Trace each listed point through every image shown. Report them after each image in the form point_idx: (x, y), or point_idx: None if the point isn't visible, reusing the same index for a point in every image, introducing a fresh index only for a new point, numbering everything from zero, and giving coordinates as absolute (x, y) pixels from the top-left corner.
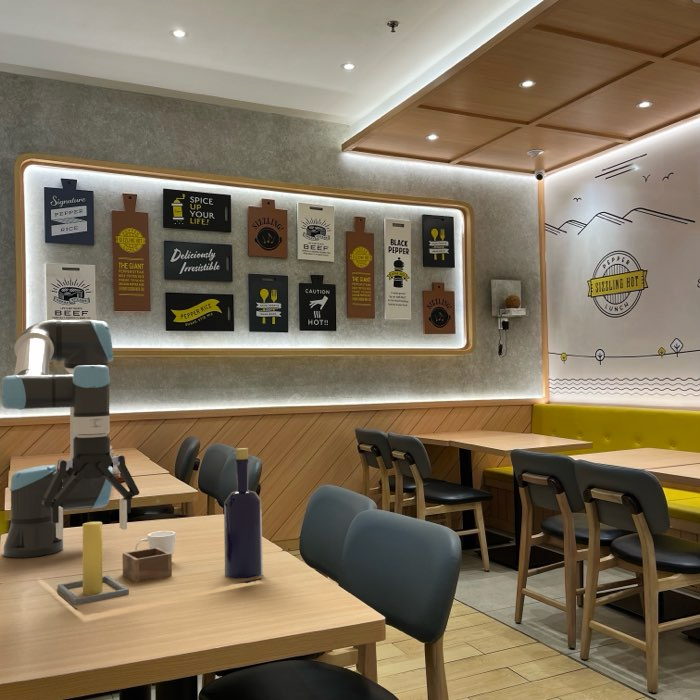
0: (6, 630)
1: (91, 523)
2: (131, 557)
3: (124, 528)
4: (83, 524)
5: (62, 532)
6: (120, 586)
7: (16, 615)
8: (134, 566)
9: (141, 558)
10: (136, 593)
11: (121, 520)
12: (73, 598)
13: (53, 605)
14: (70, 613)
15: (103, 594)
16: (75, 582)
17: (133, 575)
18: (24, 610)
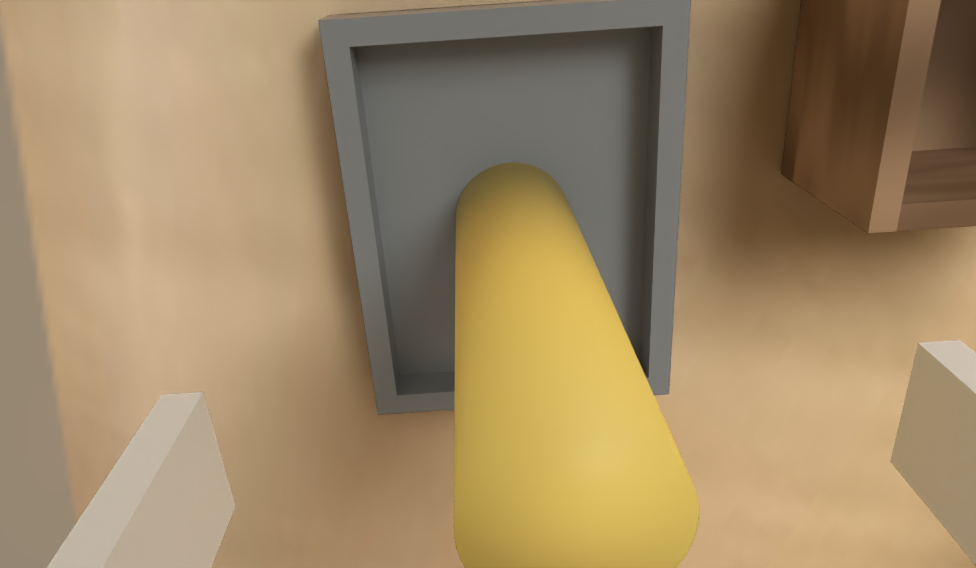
0: (74, 487)
1: (565, 521)
2: (890, 131)
3: (906, 470)
4: (463, 523)
5: (207, 559)
6: (652, 323)
7: (97, 309)
8: (843, 196)
9: (924, 219)
10: (725, 301)
11: (966, 466)
12: (373, 378)
13: (287, 250)
14: (353, 423)
15: None
16: (443, 40)
17: (814, 154)
18: (133, 247)
